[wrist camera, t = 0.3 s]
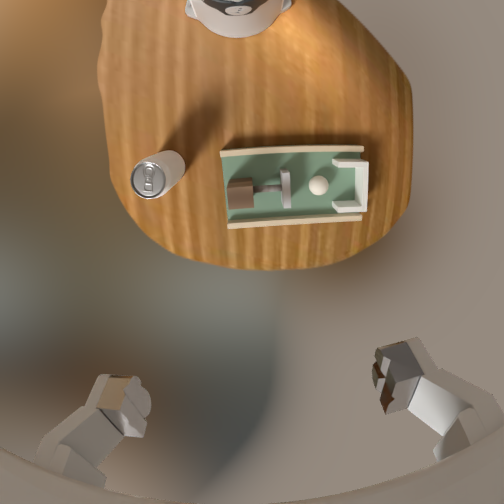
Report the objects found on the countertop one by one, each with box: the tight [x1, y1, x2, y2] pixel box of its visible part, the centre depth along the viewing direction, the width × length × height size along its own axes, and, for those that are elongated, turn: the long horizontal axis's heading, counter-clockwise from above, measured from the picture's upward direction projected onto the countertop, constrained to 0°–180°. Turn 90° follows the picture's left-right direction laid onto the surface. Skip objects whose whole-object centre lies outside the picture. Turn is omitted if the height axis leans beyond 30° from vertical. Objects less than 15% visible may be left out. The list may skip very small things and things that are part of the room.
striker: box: [226, 168, 291, 210], centre depth 47 cm, size 6×10×7 cm, turn 94°
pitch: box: [220, 144, 364, 229], centre depth 50 cm, size 14×25×3 cm, turn 94°
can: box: [130, 150, 185, 199], centre depth 44 cm, size 6×6×12 cm
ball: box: [309, 176, 329, 195], centre depth 49 cm, size 4×4×4 cm
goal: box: [332, 159, 369, 213], centre depth 48 cm, size 9×6×4 cm, turn 4°
